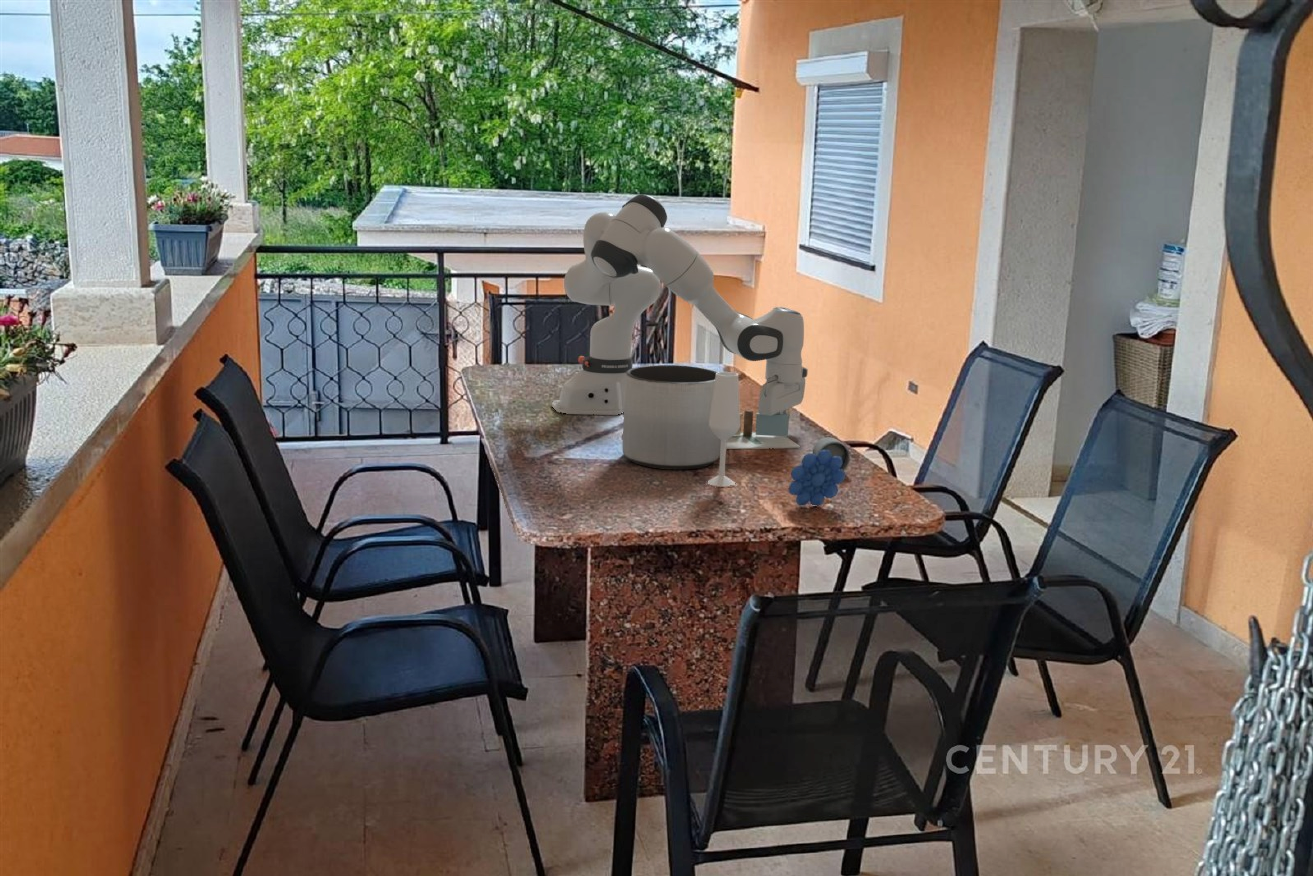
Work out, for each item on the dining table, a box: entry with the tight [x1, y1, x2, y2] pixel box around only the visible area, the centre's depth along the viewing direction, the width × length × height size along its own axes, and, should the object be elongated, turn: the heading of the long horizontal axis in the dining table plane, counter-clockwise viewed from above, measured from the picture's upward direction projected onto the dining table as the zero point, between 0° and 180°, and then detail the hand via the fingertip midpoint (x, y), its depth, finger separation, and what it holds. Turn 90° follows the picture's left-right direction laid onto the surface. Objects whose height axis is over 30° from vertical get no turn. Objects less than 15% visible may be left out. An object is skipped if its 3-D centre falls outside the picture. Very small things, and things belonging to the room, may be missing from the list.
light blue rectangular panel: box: [755, 412, 791, 437], centre depth 304 cm, size 8×1×5 cm, turn 87°
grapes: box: [788, 450, 846, 507], centre depth 248 cm, size 12×7×12 cm, turn 99°
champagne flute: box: [707, 371, 741, 486], centre depth 260 cm, size 7×7×24 cm
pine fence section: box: [734, 409, 754, 437], centre depth 303 cm, size 13×2×7 cm, turn 105°
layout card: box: [726, 431, 801, 450], centre depth 301 cm, size 21×15×1 cm
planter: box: [621, 364, 721, 470], centre depth 280 cm, size 23×23×20 cm
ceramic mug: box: [798, 436, 851, 472], centre depth 276 cm, size 11×8×8 cm
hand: (779, 426), depth 308 cm, fingers closed
